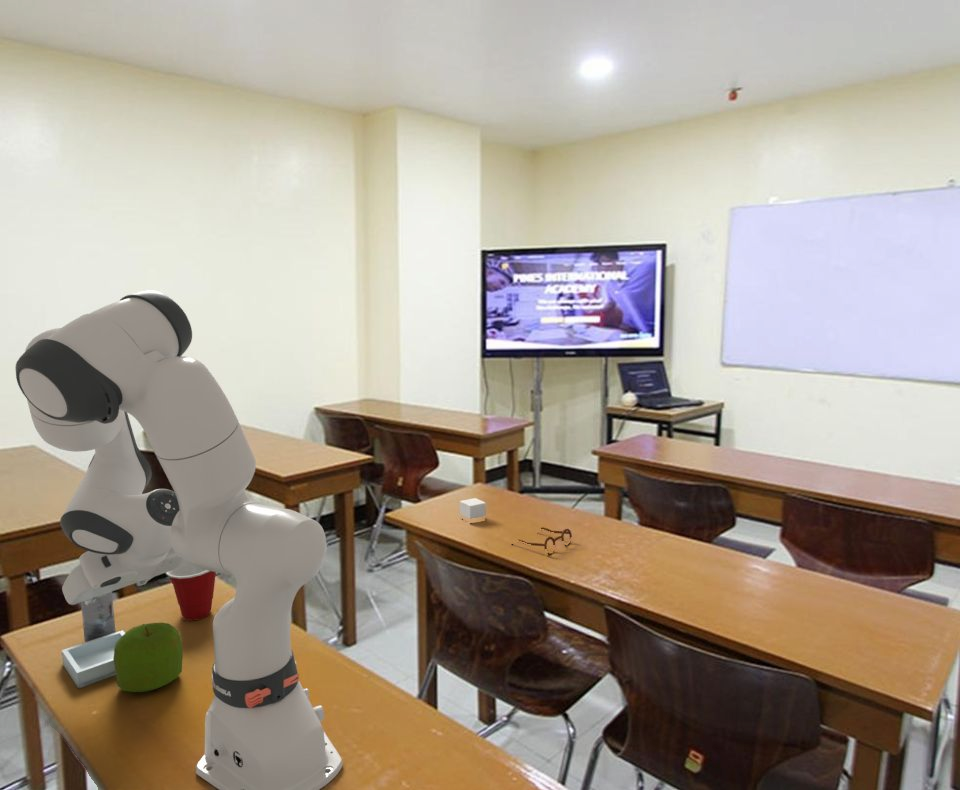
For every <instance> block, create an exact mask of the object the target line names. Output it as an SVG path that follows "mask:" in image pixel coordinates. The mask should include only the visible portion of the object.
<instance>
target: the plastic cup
mask: <svg viewBox="0 0 960 790" xmlns="http://www.w3.org/2000/svg"><path fill="white" fill-rule="evenodd" d="M165 575H166V576H168V577H169V579H170V581H171V584H172V586H173V589H174V593H175V596H176V600H177V604H178V606H179V610H180V614H181V616H182V619H184V620H186V621H197V620H201V619H204V618H206V617H208V616H209V615H210V613H211V612H212V611H211V610H212V605H213V599H214V591H215V583H216V576H217V572H212V571H208V570H204V569H201V568H199V567H197V566H195V565H193V564H191V563H189V562H188V561H186V560H185V559H182V561H181V563H180V565H179V566H178V567H176V568H175V569H173V570H171V571H168V572H166V573H165Z"/></svg>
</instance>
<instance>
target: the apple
mask: <svg viewBox="0 0 960 790" xmlns="http://www.w3.org/2000/svg"><path fill="white" fill-rule="evenodd" d="M113 659H114V664H115V670H116V675H115V676H116V681H117V687H118V688H119V689H121V691H122V692H123V691H124V692H131V693H146V692H150V691H155V690H157V689H159V688H162V687H164V686H166V685H168V684H169V683H171V682H172V681H174V680H176V679H178V677H179V676H180V674H182V673H181V672H182V670H183V669H182V668H183V637H182V634H181V632H180V631H179V629H178V628H176V627H175V626H174V625H172V624H170V623H167V622H151V623H145V624H140V625H137V626H133V627H132V628H131V629H128V630H127V631H126V632H125V634H124V635H123V636H122V637H121V638H120V639H119V640H118V641H117V642H116V645H115V649H114V658H113Z"/></svg>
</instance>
